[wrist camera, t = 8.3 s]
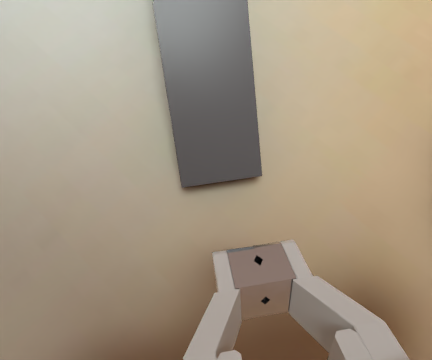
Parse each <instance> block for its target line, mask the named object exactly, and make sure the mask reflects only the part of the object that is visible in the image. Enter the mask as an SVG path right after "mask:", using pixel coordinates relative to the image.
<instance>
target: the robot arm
mask: <svg viewBox="0 0 432 360" xmlns="http://www.w3.org/2000/svg"><path fill="white" fill-rule="evenodd" d="M212 256H213V264H214V272H215V280H216V287H217V293H214V295H213V297H212V299H211V301H210V303H209V305H208V307H207V309H206V311H205V313H204V315H203V318H202V320H201V322H200V324H199V326H198V328H197V330H196V332H195V334H194V336H193V338H192V340H191V343H190V345H189V347H188V349H187V351H186V353H185V355H184V357H183V360H242V357H241V354H240V353H239V352H237V351H236V350H233V348H234V345H235V342H236V339H237V336H238V333H239V329H240V326H241V323H242V320H247V319H252V318H257V317H262V316H267V315H274V314H281V313H287V312H289V314H290V315H291V316H292V317H293V318H294V319H295V320H296V321H297V322H298V323H299V324H300V325H301V326H302V327H303V328H304V329H305V330H306V331H307V332H308V333H309V334H310V335H311V336H312V337H313V338H314V339H315V340H316V341H317V342H318V343H319V344H320V345H321V346H322V347H323V348H324V349H325V350H326V351H327V352H328V353H329V356H328V359H327V360H410V359H409V358H408V356H407V355H406V353H405V352H404V350H403V348H402V347H401V345H400V344H399V342H398V341H397V339H396V338H395V336H394V335H393V333H392V332H391V330H390V329H389V327H388V326H387V324H386V323H385V321H383V320H382V319H380V318H379V317H378V316H376V315H375V314H373V313H372V312H370V311H369V310H367V309H366V308H364V307H363V306H361V305H360V304H358V303H357V302H355V301H354V300H353V299H351V298H350V297H348V296H347V295H345V294H344V293H342V292H341V291H339V290H338V289H336V288H335V287H333V286H332V285H330V284H329V283H327V282H326V281H325V280H323V279H322V278H320V277H319V276H313V275H312V273H311V271H310V269H309V267H308V265H307V264H306V262H305V260H304V258H303V256H302V254H301V252H300V250H299V248H298V246H297V244H296V242H295V241H294V240H286V241H280V242H273V243H267V244H262V245H256V246H252V247H245V248H237V249H230V250H224V251H217V252H212Z"/></svg>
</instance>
